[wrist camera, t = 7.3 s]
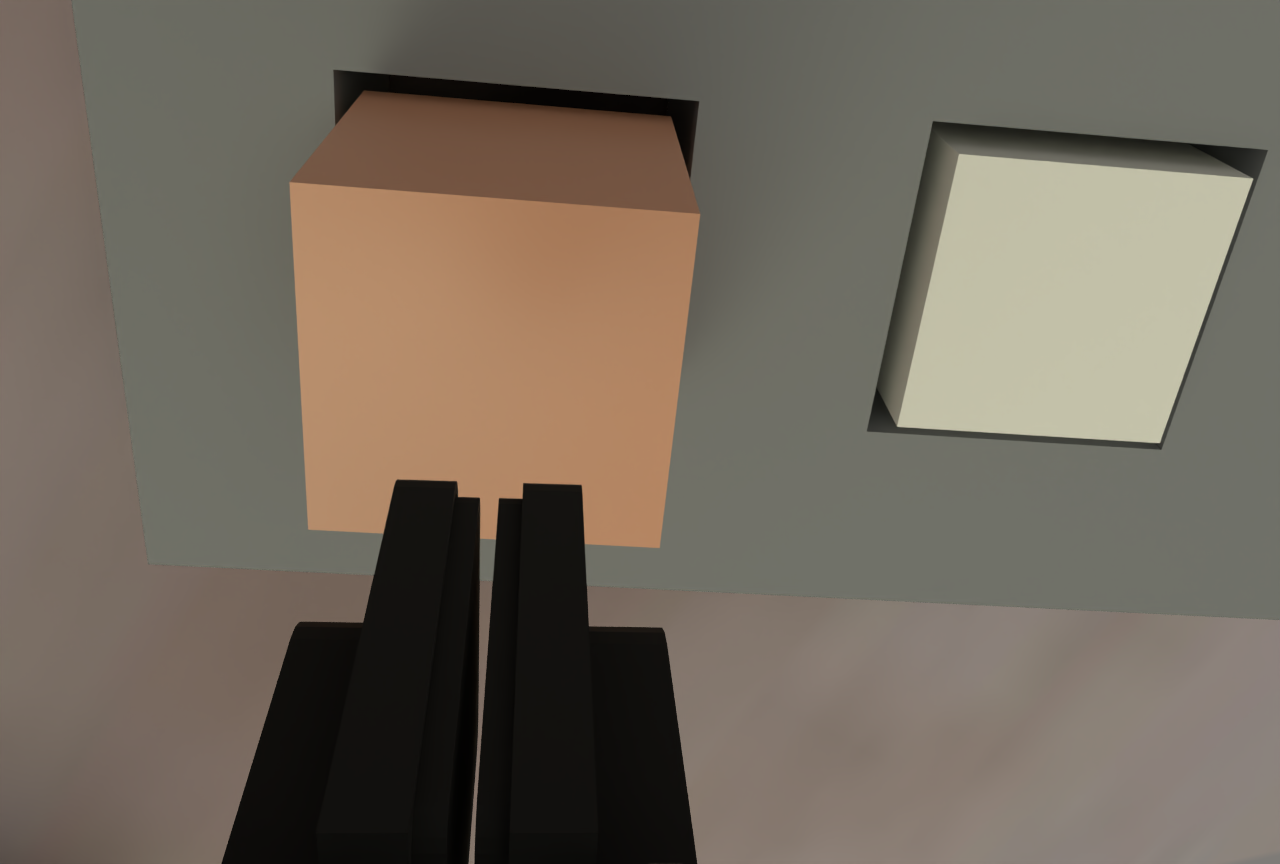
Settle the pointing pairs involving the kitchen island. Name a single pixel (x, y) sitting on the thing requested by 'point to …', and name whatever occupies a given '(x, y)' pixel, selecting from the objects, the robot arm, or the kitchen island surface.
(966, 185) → the cream cube block
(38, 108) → the kitchen island surface
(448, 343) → the terracotta brown block
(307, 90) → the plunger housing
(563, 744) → the robot arm
